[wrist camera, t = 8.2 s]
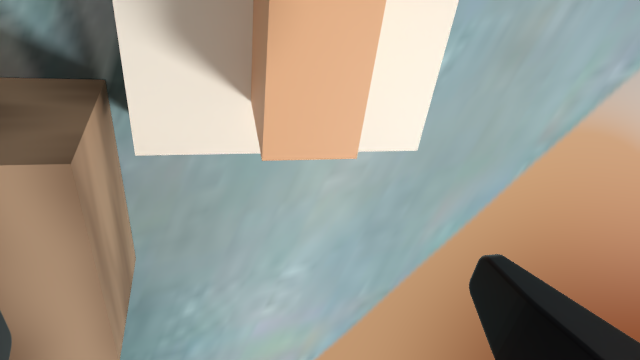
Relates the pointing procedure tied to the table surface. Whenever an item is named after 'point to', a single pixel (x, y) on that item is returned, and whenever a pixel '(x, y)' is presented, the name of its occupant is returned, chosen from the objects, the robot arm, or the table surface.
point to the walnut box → (62, 221)
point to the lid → (280, 75)
